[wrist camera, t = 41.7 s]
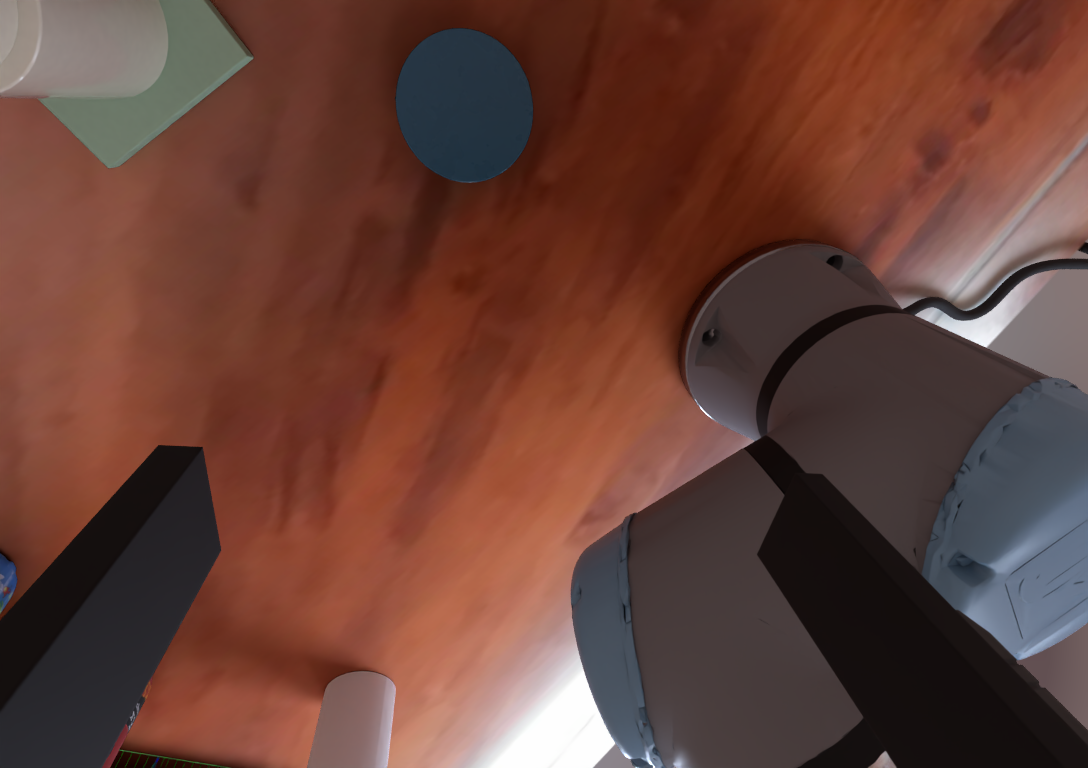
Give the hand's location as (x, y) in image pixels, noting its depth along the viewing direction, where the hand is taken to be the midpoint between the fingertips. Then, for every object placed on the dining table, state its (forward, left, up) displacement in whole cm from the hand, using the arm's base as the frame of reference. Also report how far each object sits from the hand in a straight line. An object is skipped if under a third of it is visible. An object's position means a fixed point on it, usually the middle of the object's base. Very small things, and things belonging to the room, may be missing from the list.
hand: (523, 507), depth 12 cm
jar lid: (-4, -7, -24) cm, 25 cm away
